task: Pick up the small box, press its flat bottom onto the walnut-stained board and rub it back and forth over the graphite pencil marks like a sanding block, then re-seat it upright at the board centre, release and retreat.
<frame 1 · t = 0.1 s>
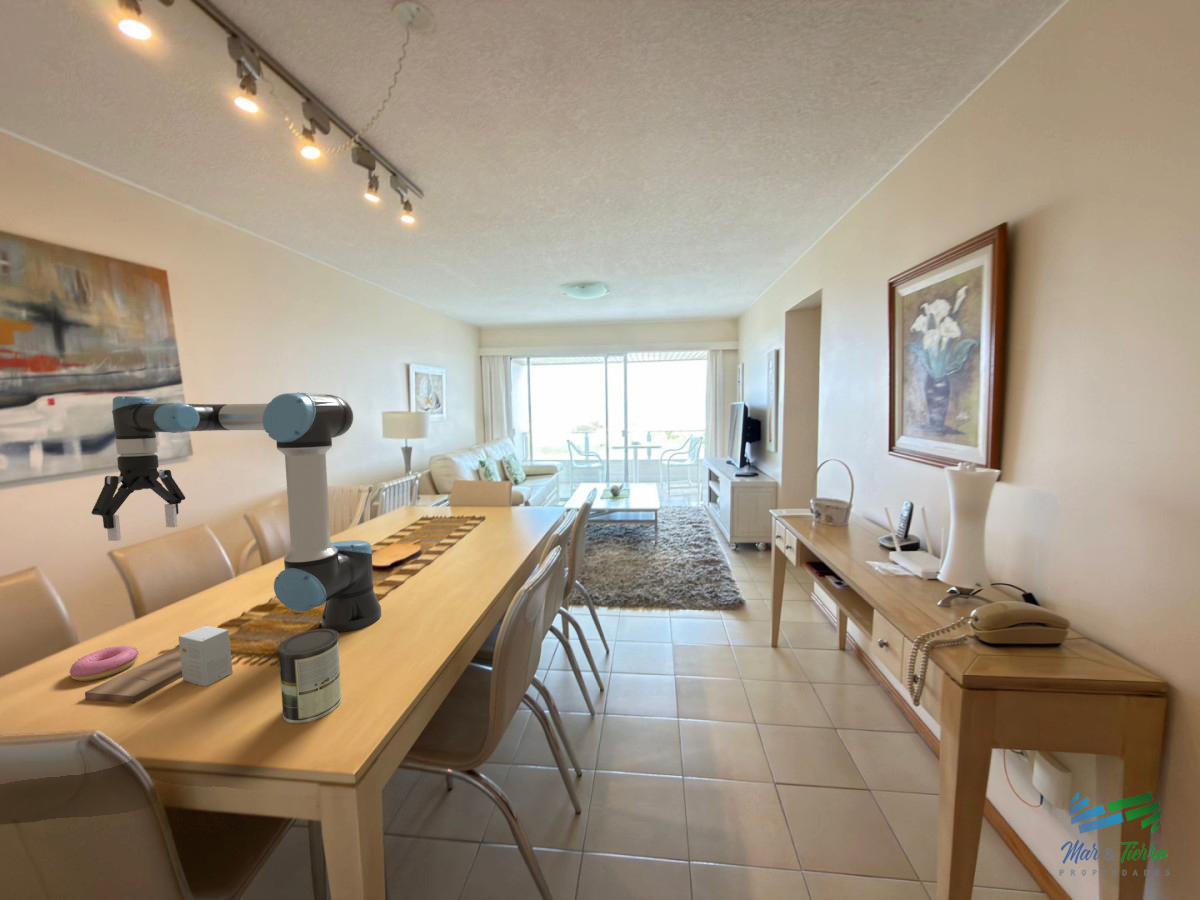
hand: (144, 533, 121), 28 cm above the table, fingers open, 13 cm apart
board: (161, 673, 104), on the table
small box: (208, 677, 102), on the table
doughnut: (106, 671, 106), on the table
coffee can: (313, 707, 92), on the table
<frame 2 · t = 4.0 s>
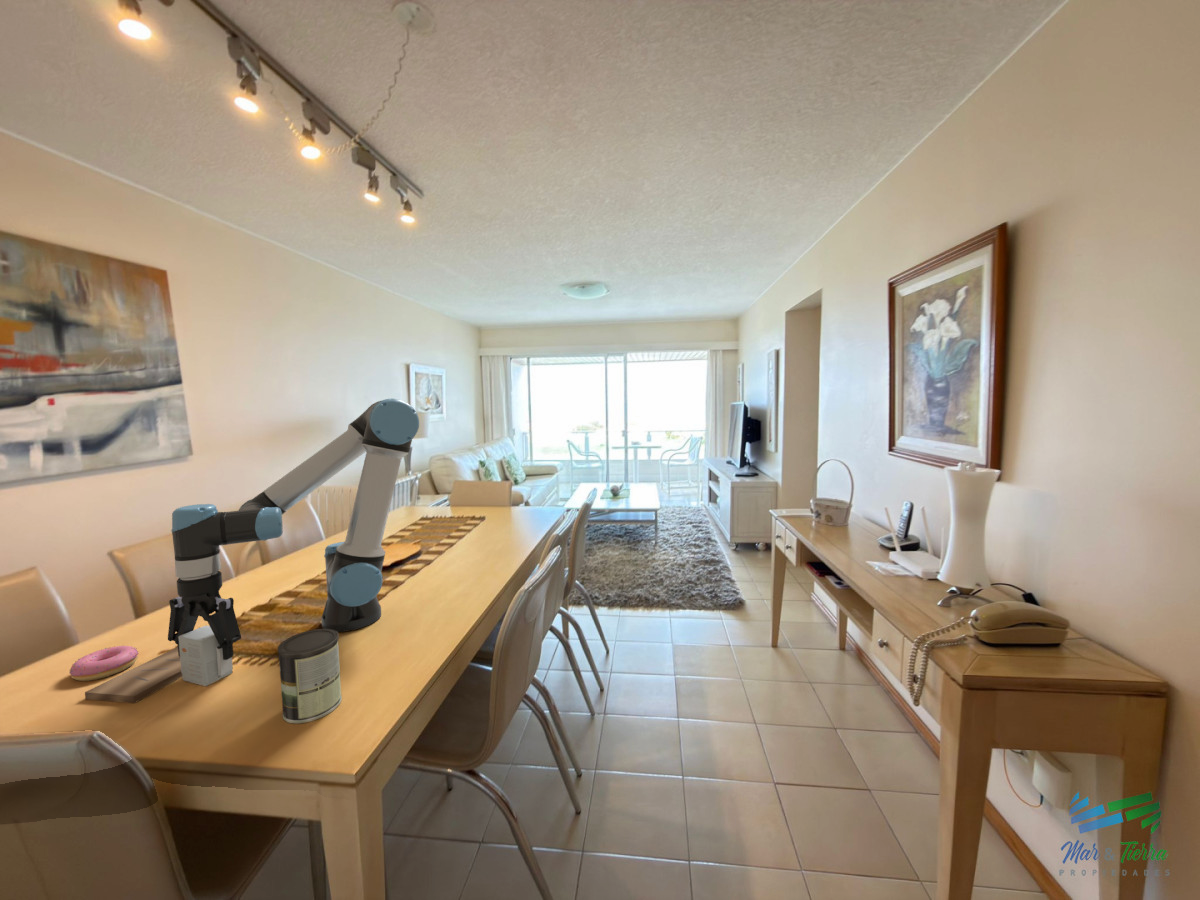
hand: (207, 670, 102), 1 cm above the table, fingers closed on small box, 9 cm apart
small box: (207, 677, 102), on the table, touching gripper
everything else where it was.
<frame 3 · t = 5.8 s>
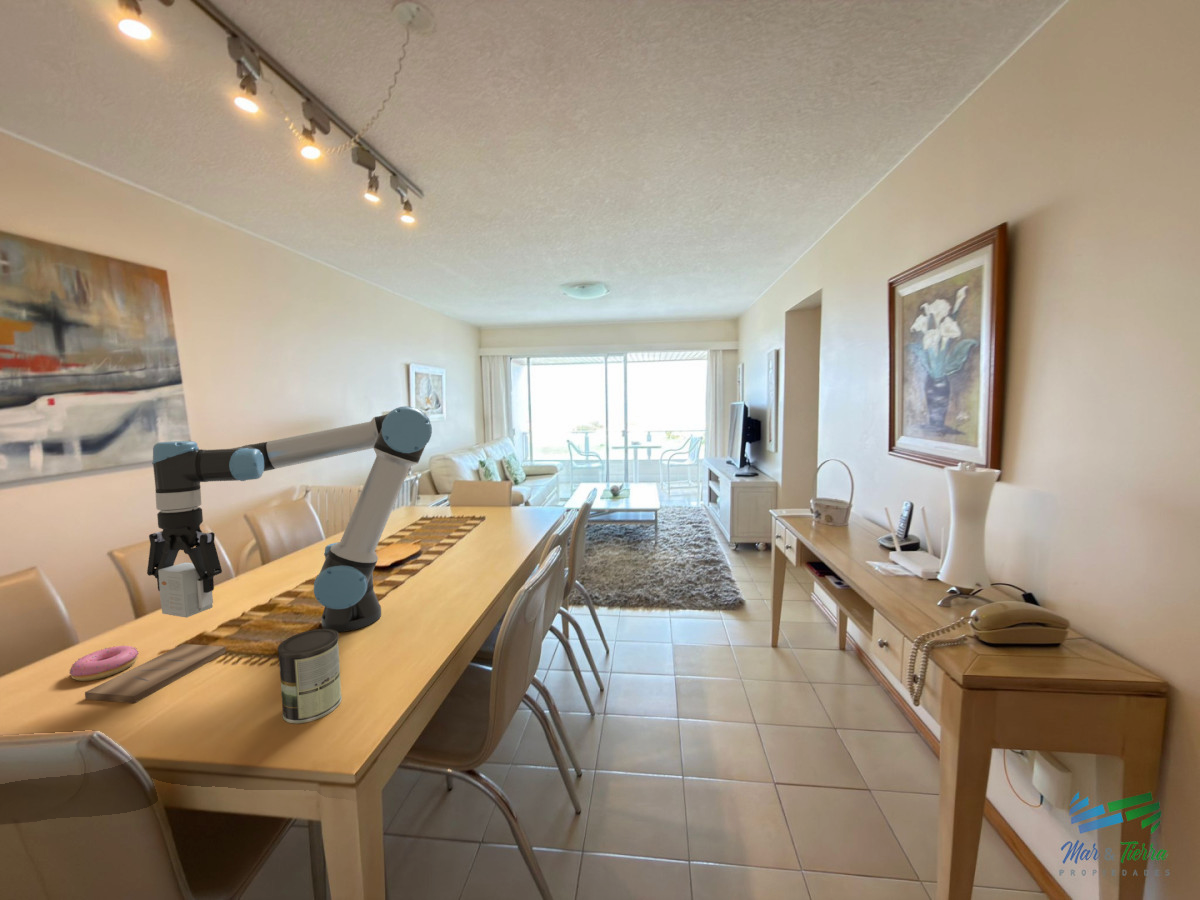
hand: (187, 604, 104), 16 cm above the table, fingers closed on small box, 9 cm apart
small box: (187, 611, 104), point 14 cm above the table, touching gripper
everything else where it was.
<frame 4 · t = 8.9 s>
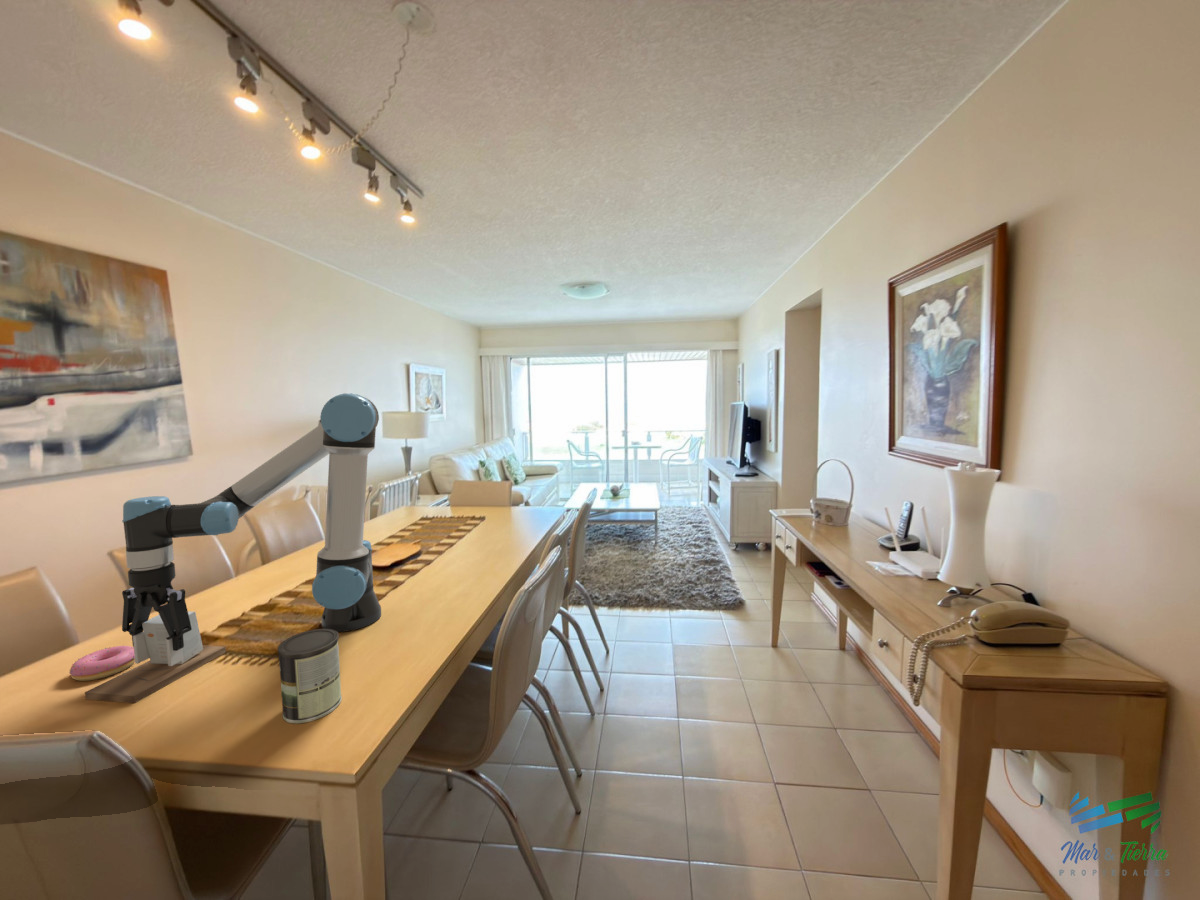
hand: (159, 661, 104), 3 cm above the table, fingers open, 8 cm apart
small box: (177, 657, 108), point 2 cm above the table, touching board, gripper
everything else where it was.
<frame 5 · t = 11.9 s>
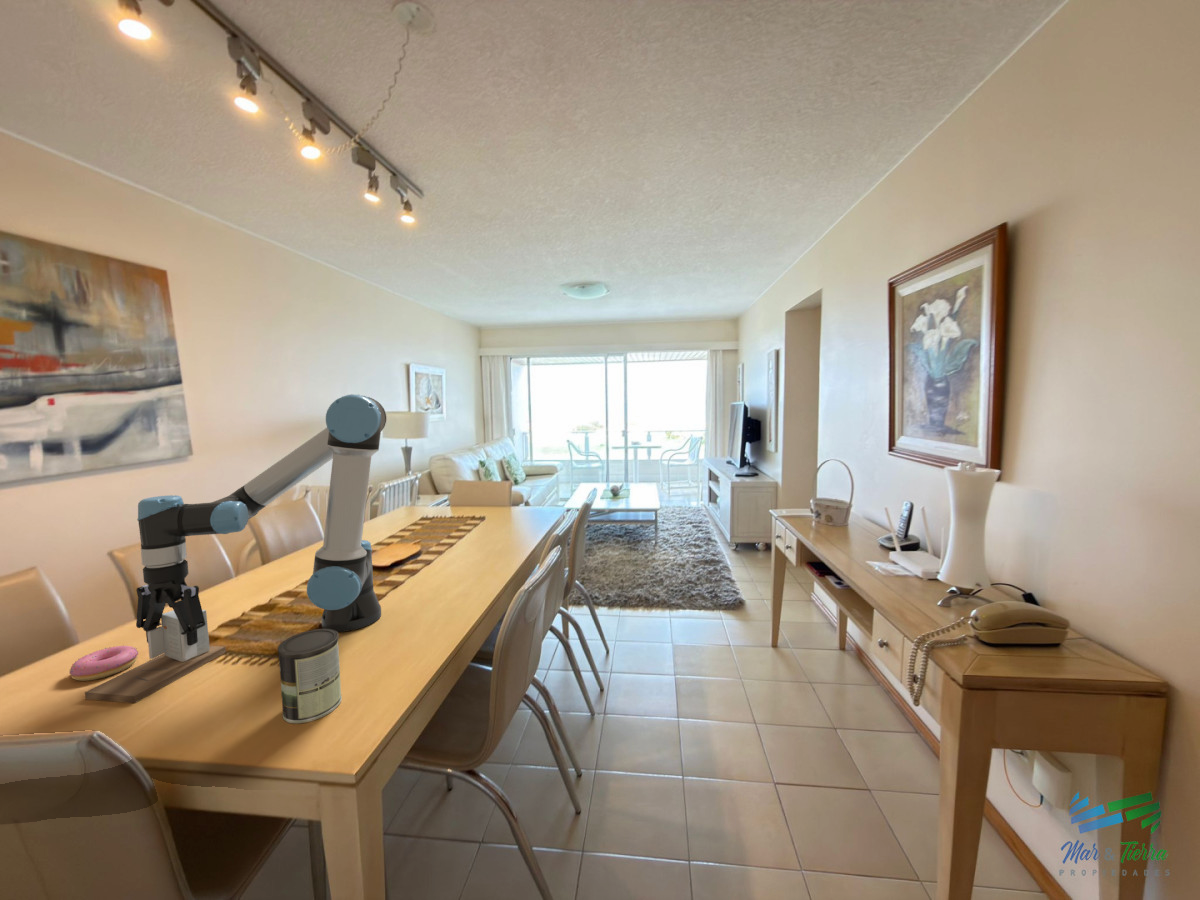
hand: (173, 656, 106), 3 cm above the table
small box: (187, 654, 110), point 1 cm above the table, touching gripper
everything else where it was.
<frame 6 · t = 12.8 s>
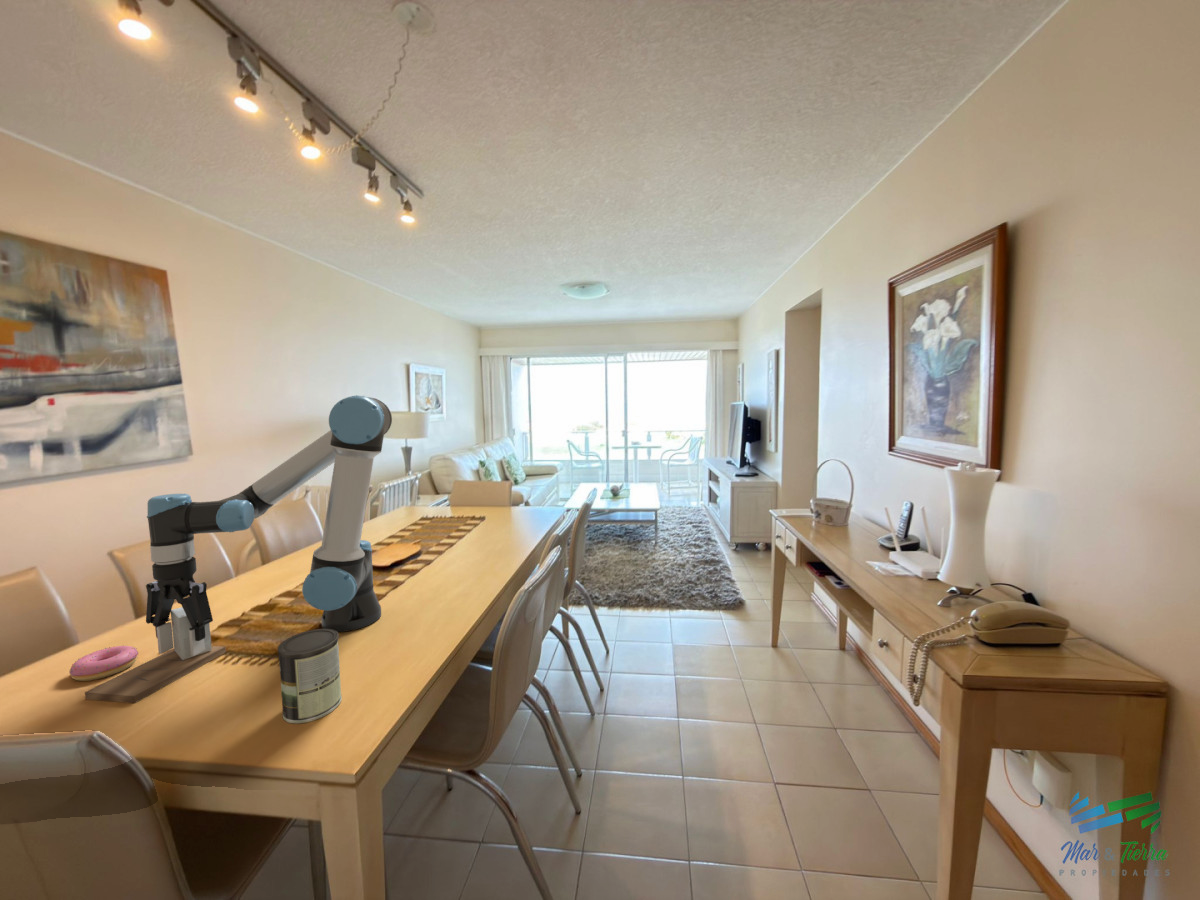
hand: (182, 651, 108), 3 cm above the table, fingers open, 8 cm apart
small box: (192, 651, 111), point 1 cm above the table, touching board
everything else where it was.
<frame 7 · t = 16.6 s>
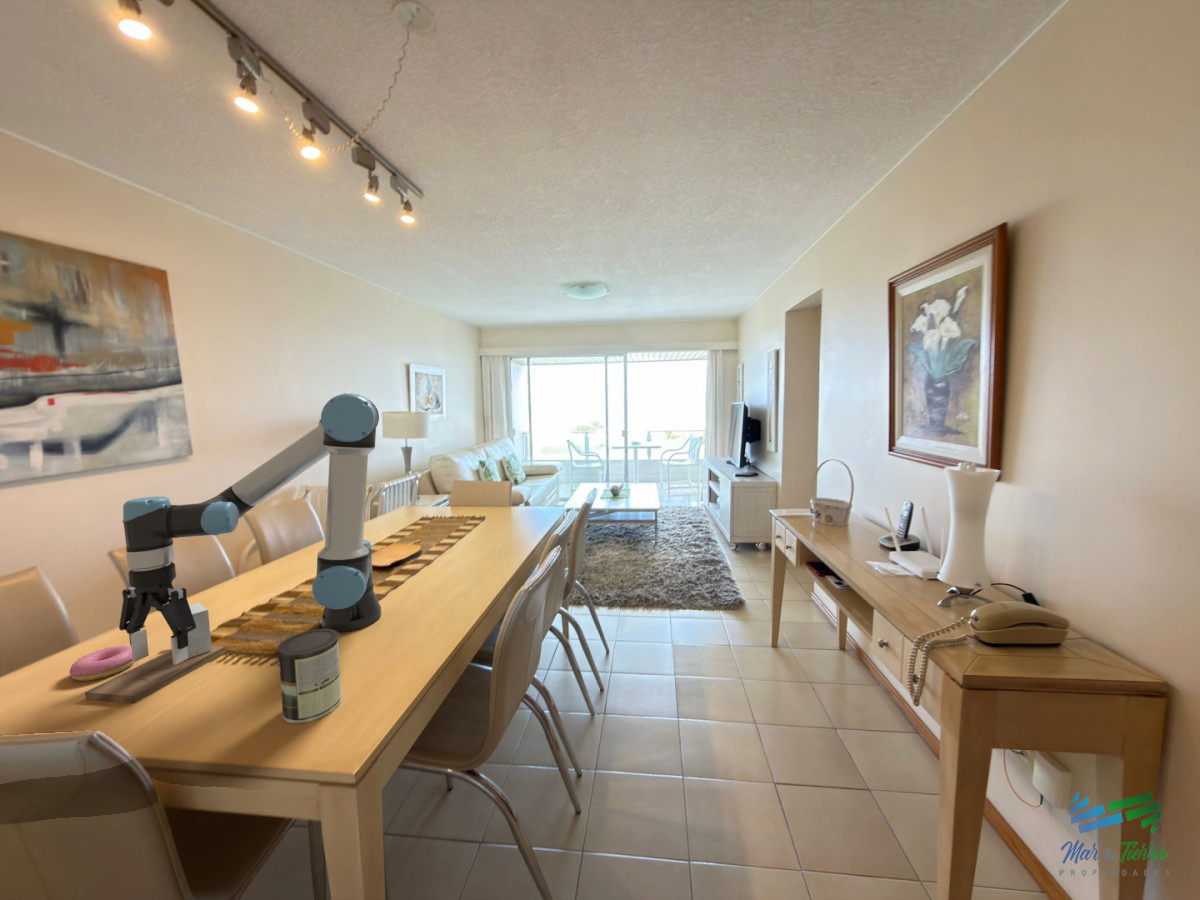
hand: (160, 659, 104), 3 cm above the table, fingers open, 10 cm apart
nothing on the table moved.
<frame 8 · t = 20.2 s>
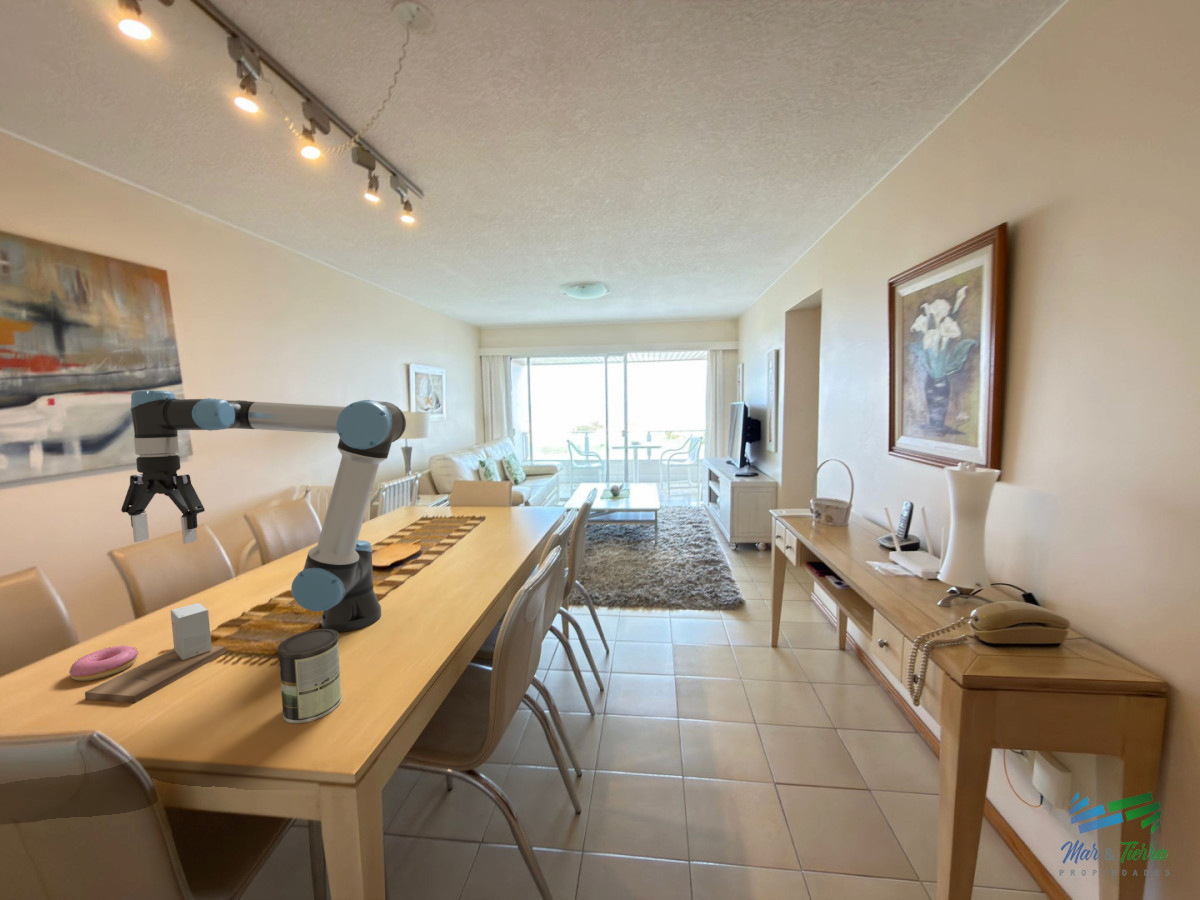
hand: (165, 541, 110), 29 cm above the table, fingers open, 13 cm apart
nothing on the table moved.
at the end: small box inside the target area on the board (7.2 cm from its centre), point 1.3 cm above the board's base; small box tilted 0°; the gripper is holding nothing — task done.
